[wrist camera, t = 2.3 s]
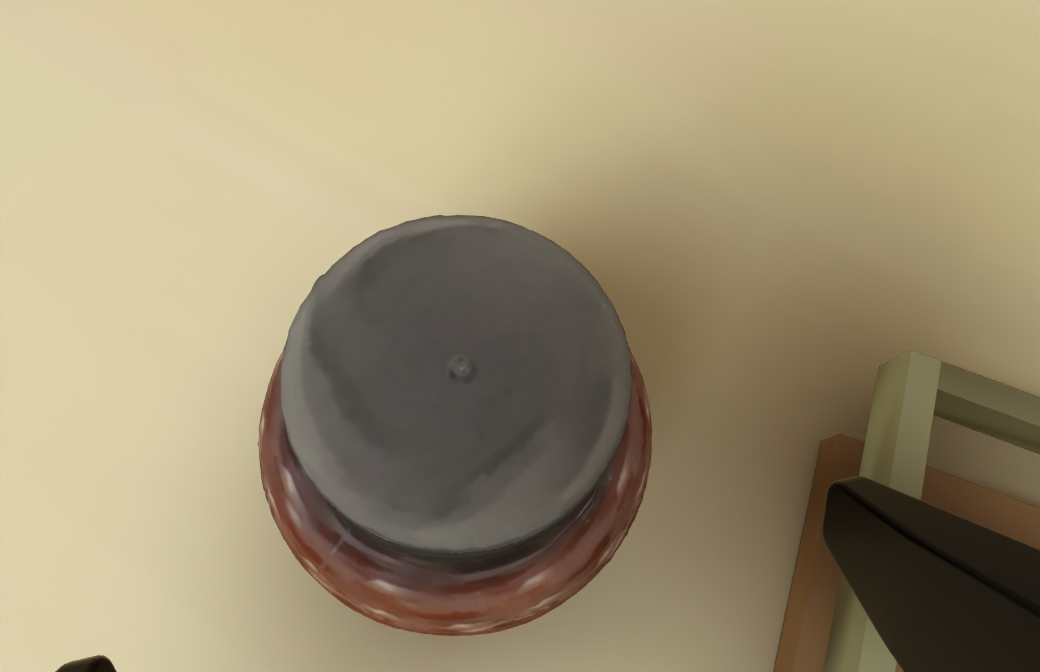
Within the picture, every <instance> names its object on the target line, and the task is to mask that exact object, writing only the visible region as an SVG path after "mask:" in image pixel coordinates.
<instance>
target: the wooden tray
mask: <svg viewBox="0 0 1040 672" xmlns="http://www.w3.org/2000/svg"><path fill="white" fill-rule="evenodd" d="M933 415H935V416H938V417H941V418H943V419H946V420H949V421H951V422H954V423H957V424H960V425H962V426H965V427H968V428H970V429H973V430H976V431H978V432H981V433H984V434H986V435H989V436H992V437H995V438H997V439H1000V440H1003V441H1005V442H1008V443H1011V444H1013V445H1016V446H1019V447H1021V448H1024V449H1027V450H1029V451H1032V452H1035V453H1038V454H1040V397H1038V396H1035V395H1032V394H1030V393H1027V392H1024V391H1021V390H1019V389H1016V388H1013V387H1011V386H1008V385H1005V384H1002V383H1000V382H997V381H994V380H992V379H989V378H986V377H983V376H981V375H978V374H975V373H973V372H970V371H967V370H964V369H962V368H959V367H956V366H954V365H951V364H948V363H945V362H943V361H940V360H937V359H935V358H932V357H929V356H926V355H924V354H921V353H918V352H916V351H913V350H911V351H909V352H907V353H905V354H903V355H901V356H900V357H898V358H896V359H894V360H892V361H890V362H888V363H886V364H884V365H882V366H880V367H879V369H878V374H877V380H876V385H875V390H874V396H873V401H872V407H871V412H870V418H869V423H868V429H867V434H866V439H865V443H864V442H861V441H858V440H856V439H853V438H850V437H848V436H845V435H842V434H838V435H835V436H833V437H830V438H828V439H825V440H822V442H821V446H820V451H819V456H818V461H817V466H816V471H815V475H814V480H813V485H812V490H811V495H810V499H809V504H808V509H807V514H806V519H805V524H804V528H803V533H802V538H801V543H800V548H799V553H798V557H797V562H796V567H795V572H794V577H793V581H792V586H791V591H790V596H789V601H788V606H787V610H786V615H785V620H784V625H783V630H782V635H781V639H780V644H779V649H778V654H777V659H776V663H775V668H774V672H904V671H903V670H902V669H901V667H900V666H899V664H898V663H897V662H896V660H895V659H894V657H893V656H892V654H891V653H890V651H889V650H888V648H887V647H886V645H885V644H884V642H883V640H882V639H881V637H880V636H879V634H878V633H877V631H876V629H875V627H874V626H873V624H872V622H871V621H870V619H869V617H868V616H867V614H866V612H865V611H864V609H863V607H862V605H861V604H860V602H859V600H858V599H857V597H856V595H855V594H854V592H853V590H852V589H851V587H850V585H849V584H848V582H847V580H846V578H845V577H844V575H843V573H842V572H841V570H840V568H839V567H838V565H837V563H836V562H835V560H834V558H833V556H832V555H831V553H830V551H829V550H828V548H827V546H826V544H825V541H824V538H823V532H822V525H823V518H824V511H825V504H826V496H827V490H828V487H829V486H830V484H831V483H832V482H834V481H837V480H841V479H846V478H850V477H854V476H863V477H866V478H869V479H871V480H873V481H876V482H878V483H881V484H883V485H885V486H888V487H890V488H893V489H895V490H897V491H900V492H902V493H905V494H907V495H910V496H912V497H914V498H917V499H919V500H922V501H924V502H926V503H929V504H931V505H934V506H936V507H938V508H941V509H943V510H946V511H948V512H950V513H953V514H955V515H958V516H960V517H963V518H965V519H967V520H970V521H972V522H975V523H977V524H979V525H982V526H984V527H987V528H989V529H991V530H994V531H996V532H999V533H1001V534H1004V535H1006V536H1008V537H1011V538H1013V539H1016V540H1018V541H1020V542H1023V543H1025V544H1028V545H1030V546H1032V547H1035V548H1037V549H1040V508H1037V507H1034V506H1032V505H1029V504H1026V503H1024V502H1021V501H1018V500H1016V499H1013V498H1010V497H1008V496H1005V495H1002V494H1000V493H997V492H994V491H992V490H989V489H986V488H984V487H981V486H978V485H976V484H973V483H970V482H968V481H965V480H962V479H960V478H957V477H954V476H952V475H949V474H946V473H944V472H941V471H938V470H936V469H933V468H930V467H928V466H926V461H927V454H928V447H929V441H930V434H931V427H932V420H933Z"/></svg>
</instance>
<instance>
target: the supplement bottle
mask: <svg viewBox="0 0 1040 672" xmlns="http://www.w3.org/2000/svg"><path fill="white" fill-rule="evenodd" d="M651 437H652V427H651V416H650V405H649V401H648V396H647V393H646V390H645V386H644V382H643V378H642V375H641V373H640V370H639V367H638V365H637V363H636V360H635V358H634V357H633V355H632V353H631V350H630V348H629V347H628V343H627V340H626V336H625V331H624V329H623V327H622V324H621V322H620V320H619V317H618V315H617V313H616V310H615V308H614V306H613V304H612V303H611V301H610V299H609V298H608V296H607V295H606V294H605V292H604V291H603V289H602V288H601V286H600V285H599V283H598V281H597V280H596V279H595V278H594V277H593V276H592V275H591V273H590V272H589V271H588V270H587V269H586V268H585V267H584V266H583V265H582V264H581V263H580V262H579V261H577V260H576V259H575V258H574V257H573V256H572V255H571V254H570V253H569V252H567V251H566V250H564V249H563V248H561V247H560V246H558V245H557V244H556V243H554V242H553V241H551V240H549V239H547V238H546V237H544V236H542V235H540V234H538V233H536V232H534V231H531V230H528V229H526V228H524V227H522V226H519V225H517V224H514V223H511V222H508V221H505V220H500V219H495V218H490V217H484V216H468V215H454V216H442V215H437V216H431V217H425V218H420V219H416V220H412V221H407V222H404V223H402V224H399V225H397V226H394V227H391V228H388V229H385V230H381V231H379V232H377V233H376V234H374V235H372V236H371V237H369V238H367V239H365V240H364V241H363V242H361V243H360V244H358V245H356V246H355V247H353V248H352V249H351V250H350V251H349V252H348V253H346V254H345V255H344V256H343V257H342V258H340V259H339V260H338V261H337V262H336V263H335V264H333V265H332V266H331V268H330V269H329V270H328V271H327V272H326V273H325V274H324V275H322V276H320V277H319V278H318V279H317V280H316V282H315V283H314V285H313V288H312V290H311V292H310V293H309V295H308V296H307V298H306V299H305V300H304V302H303V303H302V304H301V306H300V308H299V310H298V312H297V314H296V316H295V318H294V321H293V323H292V325H291V327H290V329H289V333H288V338H287V341H286V345H285V347H284V350H283V352H282V354H281V356H280V358H279V360H278V361H277V363H276V365H275V368H274V371H273V374H272V377H271V380H270V382H269V385H268V389H267V393H266V397H265V400H264V404H263V408H262V413H261V419H260V425H259V442H258V445H259V457H260V467H261V478H262V483H263V489H264V491H265V495H266V499H267V501H268V503H269V505H270V509H271V513H272V516H273V518H274V520H275V522H276V524H277V526H278V528H279V530H280V532H281V534H282V536H283V538H284V540H285V541H286V543H287V545H288V546H289V548H290V549H291V551H292V552H293V554H294V556H295V557H296V559H297V560H298V561H299V562H300V563H301V565H302V566H303V567H304V569H305V570H306V571H307V572H308V573H309V574H310V575H311V576H312V577H313V578H314V579H315V580H316V581H317V582H318V583H319V584H321V585H322V586H323V587H324V588H325V589H326V590H327V591H328V592H329V593H331V594H332V595H333V596H334V597H336V598H337V599H338V600H340V601H341V602H342V603H343V604H345V605H346V606H348V607H349V608H351V609H353V610H354V611H356V612H358V613H360V614H362V615H364V616H366V617H368V618H370V619H372V620H374V621H376V622H379V623H382V624H385V625H388V626H390V627H393V628H397V629H403V630H407V631H412V632H417V633H423V634H433V635H447V636H461V635H478V634H487V633H493V632H498V631H502V630H506V629H509V628H513V627H516V626H519V625H522V624H525V623H528V622H530V621H532V620H534V619H536V618H538V617H540V616H542V615H544V614H546V613H548V612H549V611H551V610H553V609H554V608H556V607H558V606H559V605H561V604H562V603H564V602H565V601H566V600H568V599H569V598H571V597H572V596H573V595H575V594H576V593H577V592H578V591H579V590H581V589H582V588H583V587H584V586H586V585H587V584H588V583H589V582H590V581H591V580H592V579H593V578H594V577H595V576H596V575H597V574H598V573H599V572H600V570H601V569H602V568H603V567H604V566H605V565H606V564H607V563H608V562H609V561H610V560H611V558H612V557H613V555H614V553H615V552H616V550H617V549H618V548H619V546H620V545H621V543H622V541H623V539H624V538H625V536H626V535H627V533H628V530H629V529H630V527H631V525H632V523H633V521H634V519H635V517H636V514H637V512H638V509H639V507H640V504H641V502H642V499H643V494H644V491H645V488H646V483H647V477H648V472H649V467H650V460H651Z"/></svg>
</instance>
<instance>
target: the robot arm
mask: <svg viewBox="0 0 1040 672" xmlns="http://www.w3.org/2000/svg"><path fill="white" fill-rule="evenodd" d="M822 532H823V538H824V541H825V544H826V546H827V548H828V550H829V551H830V553H831V555H832V556H833V558H834V560H835V562H836V563H837V565H838V567H839V568H840V570H841V572H842V573H843V575H844V577H845V578H846V580H847V582H848V584H849V585H850V587H851V589H852V590H853V592H854V594H855V595H856V597H857V599H858V600H859V602H860V604H861V605H862V607H863V609H864V611H865V612H866V614H867V616H868V617H869V619H870V621H871V622H872V624H873V626H874V627H875V629H876V631H877V633H878V634H879V636H880V637H881V639H882V640H883V642H884V644H885V645H886V647H887V648H888V650H889V651H890V653H891V654H892V656H893V657H894V659H895V660H896V662H897V663H898V664H899V666H900V667H901V669H902V670H903V671H904V672H1040V549H1037V548H1035V547H1032V546H1030V545H1028V544H1025V543H1023V542H1020V541H1018V540H1016V539H1013V538H1011V537H1008V536H1006V535H1004V534H1001V533H999V532H996V531H994V530H991V529H989V528H987V527H984V526H982V525H979V524H977V523H975V522H972V521H970V520H967V519H965V518H963V517H960V516H958V515H955V514H953V513H950V512H948V511H946V510H943V509H941V508H938V507H936V506H934V505H931V504H929V503H926V502H924V501H922V500H919V499H917V498H914V497H912V496H910V495H907V494H905V493H902V492H900V491H897V490H895V489H893V488H890V487H888V486H885V485H883V484H881V483H878V482H876V481H873V480H871V479H869V478H866V477H863V476H854V477H850V478H846V479H841V480H837V481H834V482H832V483H831V484H830V486H829V487H828V490H827V496H826V504H825V511H824V518H823V525H822ZM56 672H116V670H115V668H114V666H113V664H112V662H111V661H110V660H109V659H108V658H107V657H105V656H103V655H102V656H100V655H98V656H93V657H89V658H85V659H81V660H76V661H72V662H69V663H66V664H64V665H63V666H61V667H60V668H59V669H58V670H57V671H56Z"/></svg>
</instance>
